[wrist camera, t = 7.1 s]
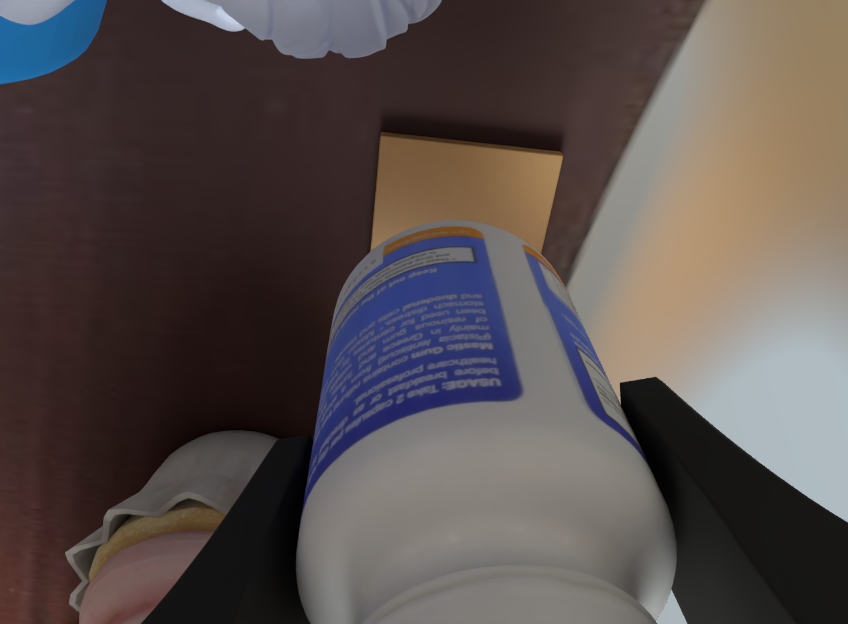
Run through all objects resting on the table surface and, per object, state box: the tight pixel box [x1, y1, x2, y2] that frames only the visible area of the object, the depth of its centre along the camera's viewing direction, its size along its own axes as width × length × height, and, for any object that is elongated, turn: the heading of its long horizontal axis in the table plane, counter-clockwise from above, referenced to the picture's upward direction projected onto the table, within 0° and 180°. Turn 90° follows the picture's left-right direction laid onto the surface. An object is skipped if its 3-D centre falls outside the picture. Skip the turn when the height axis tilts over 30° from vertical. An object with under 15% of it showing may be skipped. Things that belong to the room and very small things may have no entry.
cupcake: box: [65, 430, 278, 624], centre depth 21 cm, size 9×9×10 cm
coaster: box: [370, 132, 563, 254], centre depth 20 cm, size 5×5×1 cm
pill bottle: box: [296, 220, 677, 624], centre depth 11 cm, size 5×5×10 cm
